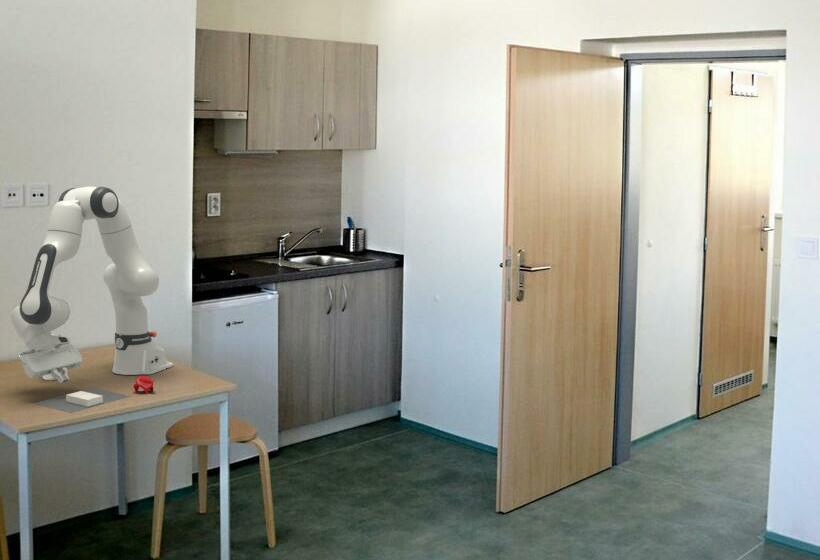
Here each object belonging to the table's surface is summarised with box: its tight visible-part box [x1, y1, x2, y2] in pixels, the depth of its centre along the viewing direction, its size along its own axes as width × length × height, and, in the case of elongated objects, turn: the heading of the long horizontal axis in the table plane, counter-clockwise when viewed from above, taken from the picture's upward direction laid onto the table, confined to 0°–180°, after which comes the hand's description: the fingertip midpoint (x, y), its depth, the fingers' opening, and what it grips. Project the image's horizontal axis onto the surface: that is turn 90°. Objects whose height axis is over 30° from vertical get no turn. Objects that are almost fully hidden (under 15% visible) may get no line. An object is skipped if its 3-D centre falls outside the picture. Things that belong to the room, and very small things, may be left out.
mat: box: [33, 387, 131, 414], centre depth 330 cm, size 24×18×1 cm
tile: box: [65, 390, 103, 407], centre depth 326 cm, size 6×2×10 cm
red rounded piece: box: [133, 375, 154, 394], centre depth 341 cm, size 8×6×6 cm
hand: (65, 381), depth 330 cm, fingers closed
